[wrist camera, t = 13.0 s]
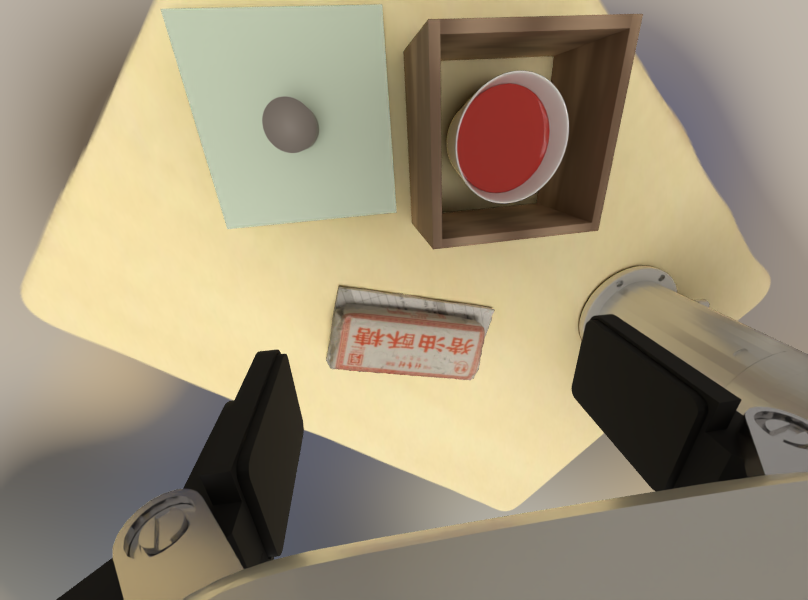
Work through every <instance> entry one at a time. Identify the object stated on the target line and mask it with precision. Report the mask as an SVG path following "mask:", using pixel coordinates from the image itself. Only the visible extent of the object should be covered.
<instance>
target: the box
mask: <svg viewBox="0 0 808 600" xmlns="http://www.w3.org/2000/svg"><path fill="white" fill-rule="evenodd" d="M642 16H643V14H619V15H618V14H617V15H578V16H539V17H500V18H462V19H428V20H427V22H426V23H425V24H424V26H423V27H422V28H421V30H420V31H419V32H418V33H417V35H416V36H415V37H414V39H413V40H412V41H411V42H410V44H409V45H408V46H407V48H406V49H405V50H404V72H405V93H406V113H407V133H408V153H409V173H410V194H411V214H412V224H413V225H414V226H415V227H416V229H417V230H418V231H419V232H420V234H421V235H422V236H423V237H424V239H425V240H426V241H427V242H428V243H429V245H430V246H431V247H432V248H433V249H440V248H449V247H458V246H466V245H475V244H484V243H493V242H501V241H510V240H519V239H528V238H536V237H545V236H554V235H563V234H572V233H580V232H589V231H598V229H599V224H600V219H601V214H602V210H603V205H604V200H605V195H606V190H607V185H608V181H609V176H610V171H611V166H612V161H613V156H614V152H615V147H616V142H617V137H618V132H619V127H620V123H621V118H622V113H623V108H624V103H625V98H626V93H627V89H628V84H629V79H630V74H631V69H632V64H633V60H634V55H635V50H636V45H637V40H638V35H639V31H640V26H641V21H642ZM540 56H554V61H553V70H552V78H551V83H552V84H553V85H554V86H555V87H556V88H557V89H558V91H559V92H560V94H561V96H562V98H563V100H564V102H565V105H566V108H567V113H568V119H569V134H568V141H567V146H566V150H565V153H564V156H563V158H562V160H561V163H560V165H559V166H558V168H557V170H556V171H555V173H554V174H553V176H552V177H551V178H550V180H549V181H548V182H547V183H546V184H545V185H544V186H543V187H542V188H541V189H540V190H538V197H537V203H536V204H526V205H516V206H506V207H496V208H486V209H476V210H466V211H456V212H446V213H442V174H441V61H445V60H469V59H492V58H516V57H540Z"/></svg>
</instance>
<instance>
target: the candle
mask: <svg viewBox="0 0 808 600" xmlns="http://www.w3.org/2000/svg"><path fill="white" fill-rule="evenodd" d="M568 134H569V119H568V113H567V108H566V105H565V102H564V100H563V98H562V96H561V94H560V92H559V91H558V89H557V88H556V87H555V86H554V85H553V84H552V83H551V82H550V81H549V80H548V79H546V78H545V77H543V76H541V75H539V74H537V73H534V72H530V71H512V72H507V73H504V74H501V75H499V76H497V77H495V78H493V79H492V80H490V81H489V82H487V83H486V84H485V85H483V86H482V87H481V88H480V89H479V90H478V91H477V92H476V93H475V94H474V95H473V96H472V97H471V98H470V99H469V100H468V101H467V102H466V103H465V104H464V105H463V106H462V107H461V108H460V109H459V111H458V112H457V113H456V115H455V116H454V118H453V120H452V122H451V124H450V126H449V129H448V134H447V142H446V145H447V153H448V157H449V160H450V162H451V164H452V166H453V168H454V169H455V171H456V172H457V173H458V175H459V176H460V177H461V178H462V180H463V181H464V182H465V183H466V185H467V186H468V187H469V188H470V189H471V190H472V191H473V192H474V193H475V194H476V195H478V196H479V197H481V198H483V199H485V200H487V201H490V202H494V203H513V202H517V201H520V200H523V199H525V198H527V197H529V196H531V195H533V194H534V193H536V192H537V191H538V190H540V189H541V188H542V187H543V186H544V185H545V184H546V183H547V182H548V181H549V180H550V178H551V177H552V176H553V174H554V173H555V171H556V170H557V168H558V166H559V165H560V163H561V160H562V158H563V156H564V153H565V150H566V146H567V141H568Z"/></svg>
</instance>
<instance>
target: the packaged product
mask: <svg viewBox="0 0 808 600" xmlns="http://www.w3.org/2000/svg"><path fill="white" fill-rule="evenodd" d="M494 311H495V310H494V309H492V308H490V307H484V306H479V305H471V304H463V303H452V302H446V301H440V300H435V299H429V298H422V297H417V296H412V295H404V294H394V293H384V292H379V291H373V290H366V289H358V288H349V287H340V286H339V287H338V293H337V298H336V303H335V308H334V313H333V320H332V328H331V336H330V343H329V348H328V353H327V358H326V361H327V363H328V365H329V366H330V368H332V369H343V370H349V371H358V372H361V371H362V372H374V373H388V374H400V375H411V376H425V377H436V378H453V379H461V380H471V379H474V376H475V374H476V373H477V371H478V370H479V365H480V357H481V354H482V347H483V344H484V338H485V336H486V333H487V331H488V328H489V325H490V322H491V320H492V314H493V313H494Z"/></svg>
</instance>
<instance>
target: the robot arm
mask: <svg viewBox="0 0 808 600" xmlns="http://www.w3.org/2000/svg"><path fill="white" fill-rule="evenodd" d="M579 331H580V336H581V339H582V342H581V347H580V351H579V356H578V360H577V365H576V369H575V374H574V379H573V383H572V393H573V396H574V398H575V399H576V400H577V401H578V403H579V404H580V405H581V406H582V407H583V409H584V410H585V411H586V412H587V413H588V414H589V416H590V417H591V418H592V419H593V420H594V421H595V423H596V424H597V425H598V426H599V427H600V428H601V430H602V431H603V432H604V433H605V434H606V435H607V437H608V438H609V439H610V440H611V441H612V442H613V443H614V445H615V446H616V447H617V448H618V450H619V451H620V452H621V453H622V454H623V455H624V457H625V458H626V459H627V460H628V461H629V462H630V464H631V465H632V466H633V467H634V468H635V469H636V471H637V472H638V473H639V474H640V475H641V476H642V478H643V479H644V480H645V481H646V482H647V483H648V485H649V486H650V487H651V488H652V489H653V490H655V491H656V492H650V493H644V494H638V495H631V496H625V497H619V498H613V499H606V500H601V501H595V502H589V503H582V504H576V505H570V506H564V507H558V508H552V509H546V510H540V511H534V512H528V513H522V514H516V515H510V516H504V517H498V518H492V519H486V520H480V521H474V522H468V523H463V524H457V525H451V526H445V527H440V528H434V529H428V530H422V531H416V532H410V533H404V534H399V535H393V536H387V537H382V538H376V539H371V540H366V541H360V542H355V543H350V544H345V545H339V546H335V547H330V548H324V549H319V550H314V551H309V552H304V553H300V554H296V555H292V556H288V557H283V558H280V559H276V560H274V557H276V556H280V555H281V553H282V550H283V545H284V539H285V533H286V528H287V522H288V516H289V511H290V506H291V500H292V494H293V489H294V483H295V478H296V472H297V466H298V461H299V455H300V450H301V444H302V438H303V431H304V427H303V420H302V415H301V411H300V407H299V403H298V398H297V394H296V390H295V386H294V381H293V377H292V373H291V369H290V364H289V360H288V356H287V354H281V353H280V351H279V350H269V351H260V352H257V354H256V355H255V358H254V360H253V362H252V364H251V366H250V368H249V370H248V373H247V375H246V377H245V379H244V381H243V383H242V385H241V387H240V390H239V392H238V394H237V396H236V398H235V400H233V401H229V402H227V403H226V404H225V406H224V408H223V410H222V412H221V414H220V416H219V418H218V420H217V422H216V424H215V426H214V428H213V430H212V432H211V434H210V436H209V438H208V440H207V442H206V444H205V446H204V448H203V450H202V452H201V454H200V456H199V458H198V460H197V462H196V464H195V466H194V468H193V470H192V472H191V474H190V476H189V478H188V480H187V482H186V484H185V486H184V488H183V489H177V490H174V491H170V492H167V493H164V494H162V495H160V496H158V497H156V498H154V499H152V500H150V501H149V502H148V503H147V504H145V505H144V506H142V507H141V508H140V509H138V510H137V511H136V512H135V513H134V515H132V516H131V517H130V519H128V521H127V522H126V523H125V524H124V526H123V527H122V529H121V530H120V532H119V533H118V535H117V537H116V540H115V543H114V545H113V558H112V559H110V560H109V561H108V562H106V563H105V564H104V565H102V566H101V567H100V568H98V569H97V570H96V571H94V572H93V573H92V574H90V575H89V576H88V577H86V578H85V579H83V580H82V581H81V582H79V583H78V584H77V585H76V586H74V587H73V588H71V589H70V590H69V591H67V592H66V593H65V594H63V595H62V596H61V597H59V598H58V599H57V600H808V354H806V353H804V352H802V351H800V350H798V349H795V348H793V347H791V346H789V345H787V344H785V343H783V342H781V341H778V340H776V339H774V338H772V337H770V336H768V335H766V334H764V333H761V332H759V331H757V330H755V329H753V328H751V327H749V326H747V325H744V324H742V323H740V322H738V321H736V320H734V319H732V318H730V317H728V316H725V315H723V314H721V313H719V312H717V311H715V310H713V309H711V308H709V302H708V301H707V300H705V299H700V300H691V299H689V298H687V297H685V296H683V295H681V294H679V293H677V288H676V284H675V282H674V280H673V278H672V277H671V276H670V275H669V274H668V273H666V272H664V271H662V270H660V269H658V268H655V267H651V266H637V267H632V268H629V269H625V270H623V271H621V272H619V273H617V274H615V275H613V276H612V277H610V278H609V279H608V280H606V281H605V282H604V283H603V284H602V285H600V286H599V287H598V288H597V289H596V291H595V292H594V293H593V294H592V295H591V297H590V298H589V300H588V301H587V303H586V304H585V307H584V309H583V311H582V314H581V318H580V323H579Z"/></svg>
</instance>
